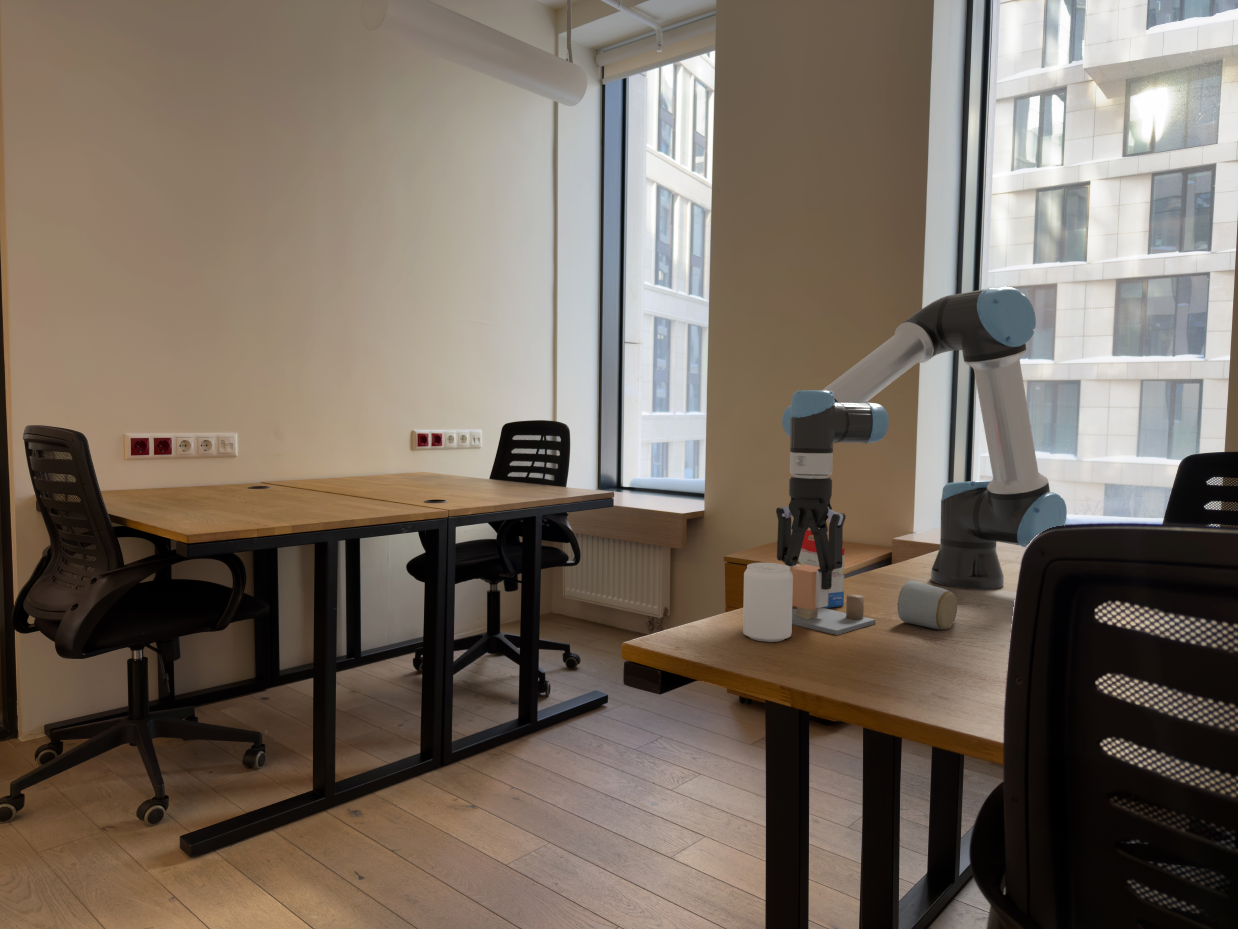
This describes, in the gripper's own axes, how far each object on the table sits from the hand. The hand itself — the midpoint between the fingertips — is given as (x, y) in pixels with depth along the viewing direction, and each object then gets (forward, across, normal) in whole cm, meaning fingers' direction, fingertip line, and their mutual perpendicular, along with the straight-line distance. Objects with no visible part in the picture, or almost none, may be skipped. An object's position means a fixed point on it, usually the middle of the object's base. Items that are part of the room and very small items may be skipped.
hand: (807, 603), depth 148 cm
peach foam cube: (0, 0, 0) cm, 0 cm away
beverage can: (+3, +2, -14) cm, 15 cm away
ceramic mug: (+4, +15, +15) cm, 22 cm away
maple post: (+3, 0, 0) cm, 3 cm away
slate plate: (+3, +2, +2) cm, 4 cm away
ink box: (+3, -7, +14) cm, 16 cm away
